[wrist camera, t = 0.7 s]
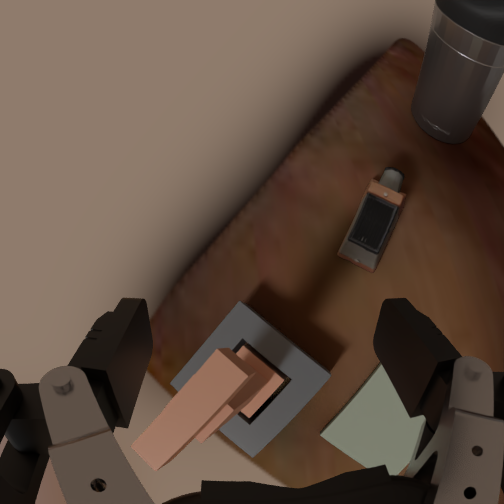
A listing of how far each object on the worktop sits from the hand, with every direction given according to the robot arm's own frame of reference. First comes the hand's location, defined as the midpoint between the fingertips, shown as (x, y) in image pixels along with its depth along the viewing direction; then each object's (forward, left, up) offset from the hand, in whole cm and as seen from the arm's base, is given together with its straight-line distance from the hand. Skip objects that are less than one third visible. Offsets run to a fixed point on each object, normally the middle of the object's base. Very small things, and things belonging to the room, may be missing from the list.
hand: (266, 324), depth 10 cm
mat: (+2, +13, -21) cm, 25 cm away
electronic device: (-13, -1, -22) cm, 25 cm away
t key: (+7, -1, -21) cm, 22 cm away
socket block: (+7, -1, -21) cm, 22 cm away
